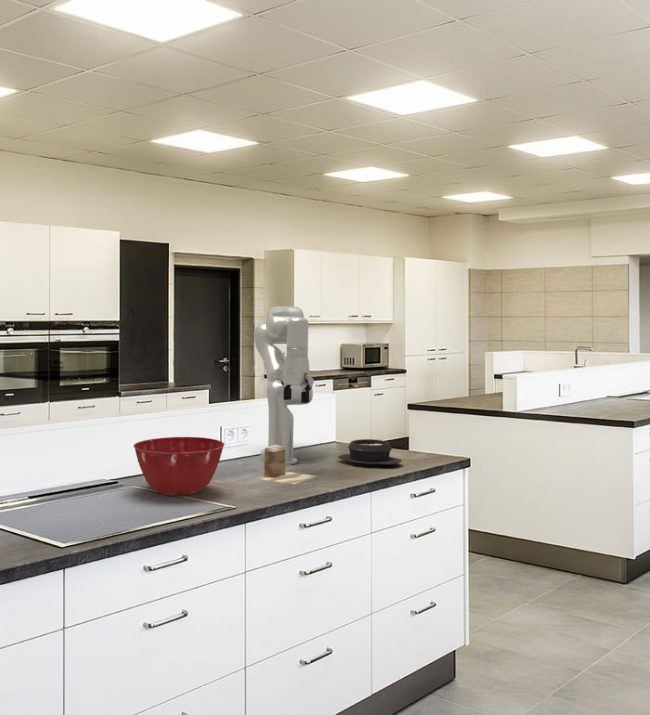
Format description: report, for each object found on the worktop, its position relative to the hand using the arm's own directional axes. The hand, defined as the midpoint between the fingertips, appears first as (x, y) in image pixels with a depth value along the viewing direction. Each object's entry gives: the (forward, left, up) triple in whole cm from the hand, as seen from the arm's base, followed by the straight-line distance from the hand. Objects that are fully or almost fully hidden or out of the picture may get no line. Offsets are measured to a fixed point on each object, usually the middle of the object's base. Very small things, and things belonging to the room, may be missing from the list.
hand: (296, 401), depth 290 cm
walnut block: (-3, -8, -26) cm, 27 cm away
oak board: (+2, -8, -26) cm, 27 cm away
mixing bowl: (-16, -44, -27) cm, 54 cm away
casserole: (+13, +34, -27) cm, 45 cm away
